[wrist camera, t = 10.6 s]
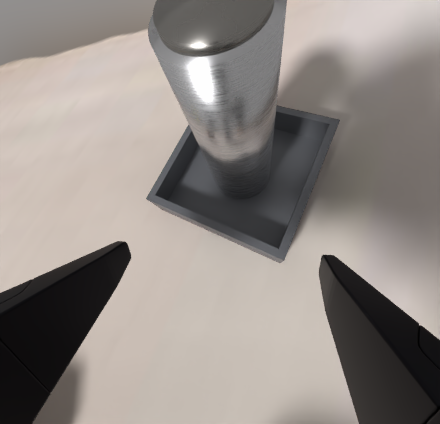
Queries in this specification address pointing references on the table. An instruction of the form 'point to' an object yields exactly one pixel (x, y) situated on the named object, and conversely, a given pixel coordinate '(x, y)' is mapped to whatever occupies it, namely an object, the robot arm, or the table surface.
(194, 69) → the cup
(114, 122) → the table surface
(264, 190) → the bin
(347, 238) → the table surface
